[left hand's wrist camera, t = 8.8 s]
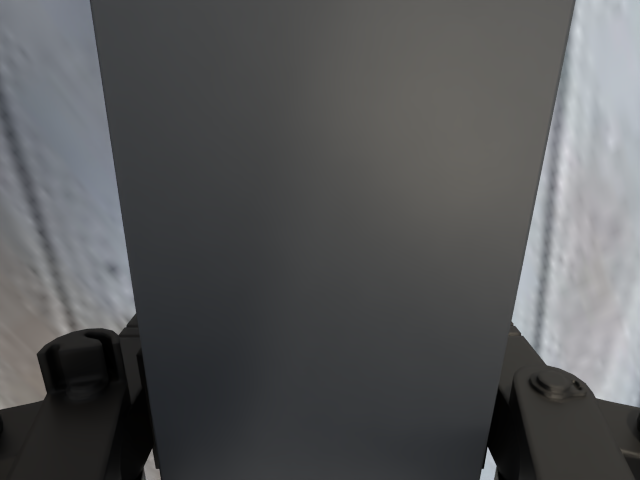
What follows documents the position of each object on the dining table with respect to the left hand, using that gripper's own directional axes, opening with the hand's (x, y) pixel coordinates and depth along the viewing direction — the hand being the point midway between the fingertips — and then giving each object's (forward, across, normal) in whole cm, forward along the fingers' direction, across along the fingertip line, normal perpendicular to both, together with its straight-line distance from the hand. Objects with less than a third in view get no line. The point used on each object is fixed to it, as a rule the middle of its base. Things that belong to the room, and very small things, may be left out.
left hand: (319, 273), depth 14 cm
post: (0, 0, -22) cm, 22 cm away
